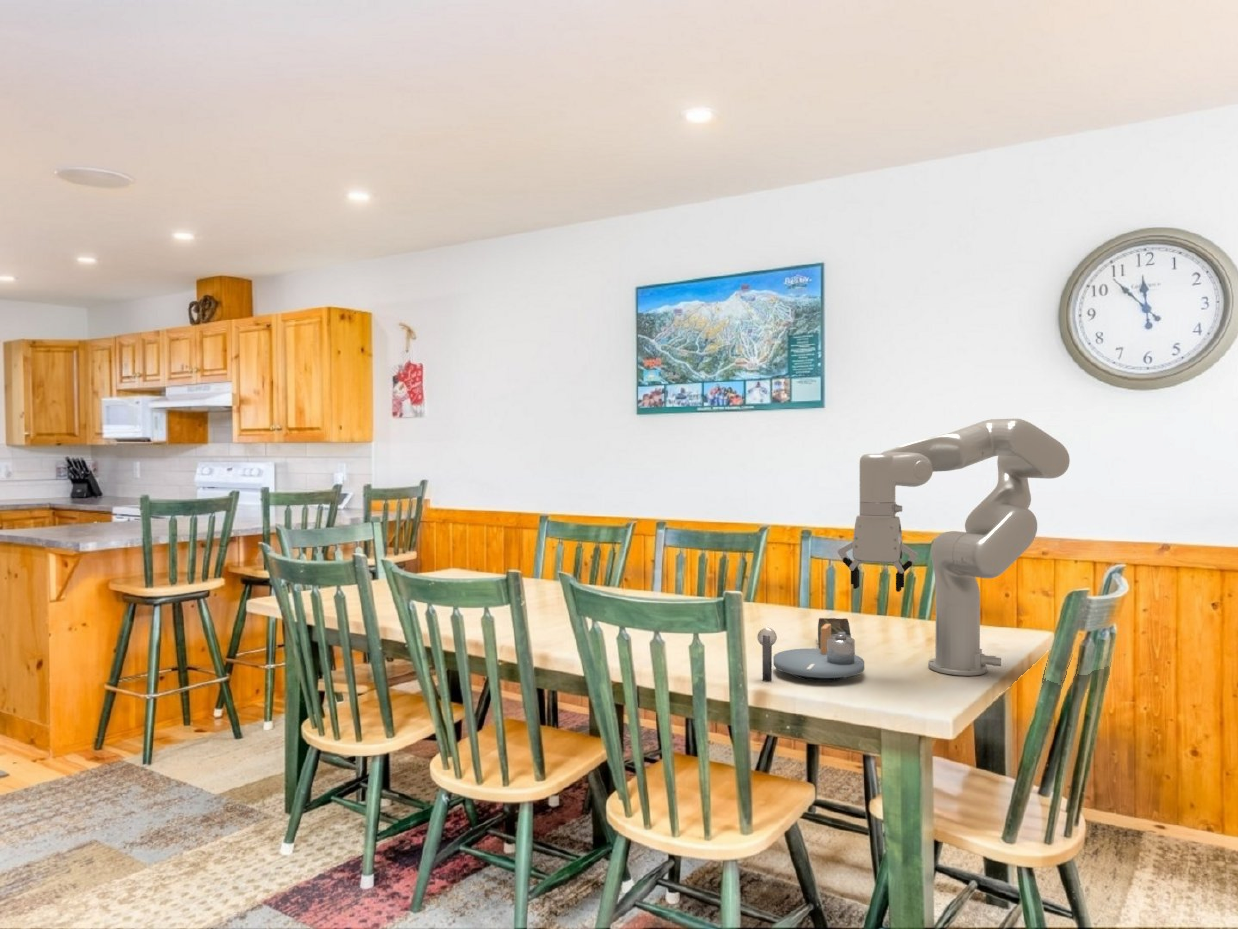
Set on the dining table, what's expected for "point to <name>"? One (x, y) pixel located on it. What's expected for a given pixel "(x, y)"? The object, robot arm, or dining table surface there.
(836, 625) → the beverage carton
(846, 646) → the cover
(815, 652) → the turntable
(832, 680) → the pedestal
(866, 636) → the dining table surface
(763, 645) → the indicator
